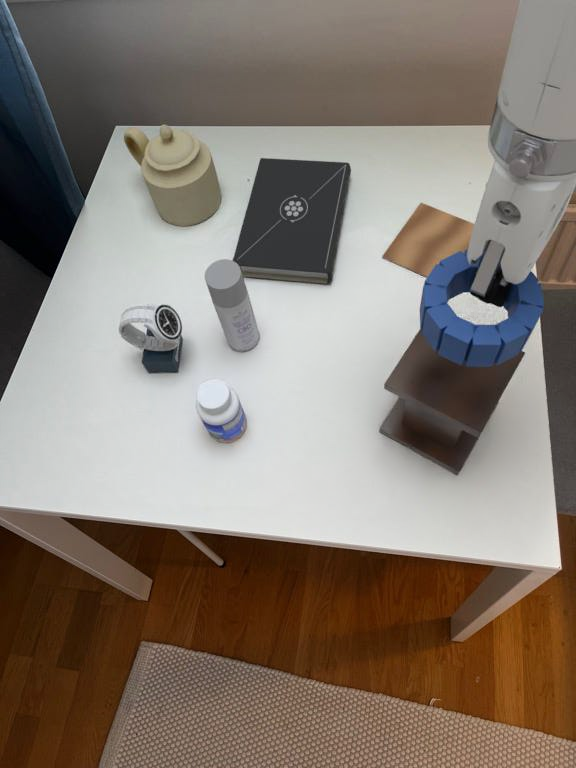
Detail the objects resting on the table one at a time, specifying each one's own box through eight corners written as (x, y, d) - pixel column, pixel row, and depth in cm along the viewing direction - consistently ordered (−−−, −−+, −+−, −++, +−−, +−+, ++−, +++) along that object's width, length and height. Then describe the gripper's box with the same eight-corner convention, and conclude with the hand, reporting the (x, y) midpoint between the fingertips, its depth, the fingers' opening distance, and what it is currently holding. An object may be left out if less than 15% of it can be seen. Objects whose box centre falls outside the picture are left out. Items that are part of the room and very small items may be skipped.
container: (247, 357, 81) (227, 295, 68) (221, 343, 83) (195, 280, 69) (266, 332, 83) (249, 267, 70) (239, 319, 84) (218, 252, 71)
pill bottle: (199, 425, 77) (180, 394, 69) (229, 398, 79) (213, 364, 70) (226, 451, 75) (209, 423, 67) (256, 423, 77) (243, 392, 68)
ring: (549, 302, 54) (562, 276, 50) (502, 385, 51) (512, 364, 47) (450, 260, 57) (456, 233, 54) (400, 336, 54) (403, 313, 50)
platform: (496, 405, 74) (525, 352, 62) (457, 475, 71) (479, 434, 58) (419, 367, 78) (432, 309, 66) (378, 431, 75) (384, 383, 62)
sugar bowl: (127, 224, 95) (90, 151, 81) (144, 174, 100) (112, 97, 86) (215, 228, 92) (191, 153, 79) (228, 177, 97) (208, 98, 84)
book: (331, 285, 85) (331, 272, 83) (235, 276, 88) (231, 264, 85) (351, 176, 94) (351, 162, 92) (262, 171, 97) (260, 157, 94)
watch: (192, 372, 81) (170, 331, 71) (136, 373, 82) (107, 332, 72) (196, 337, 84) (175, 293, 74) (142, 338, 85) (114, 295, 75)
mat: (492, 233, 87) (493, 231, 86) (455, 290, 83) (456, 288, 82) (420, 204, 90) (420, 202, 90) (382, 257, 87) (382, 256, 86)
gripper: (556, 228, 35) (493, 370, 51) (652, 65, 40) (567, 242, 56) (441, 185, 37) (417, 333, 53) (545, 37, 42) (494, 214, 58)
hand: (494, 286), depth 55 cm, fingers closed on ring, 2 cm apart
